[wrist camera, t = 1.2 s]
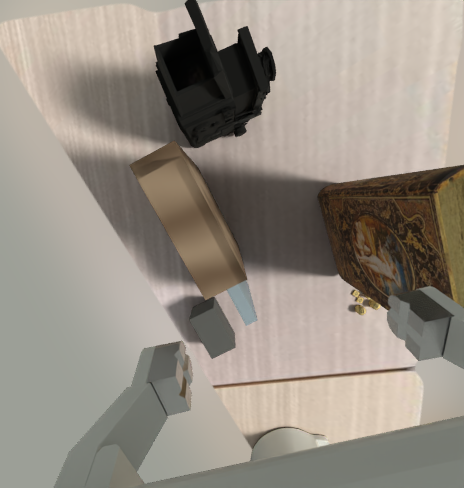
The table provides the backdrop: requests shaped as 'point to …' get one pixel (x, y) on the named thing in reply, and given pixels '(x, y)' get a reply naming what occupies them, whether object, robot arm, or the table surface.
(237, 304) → the door panel
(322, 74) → the table surface
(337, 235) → the book
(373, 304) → the dice set
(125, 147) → the table surface
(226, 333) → the block
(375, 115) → the table surface
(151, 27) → the table surface
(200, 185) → the open wooden box
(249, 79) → the camera
